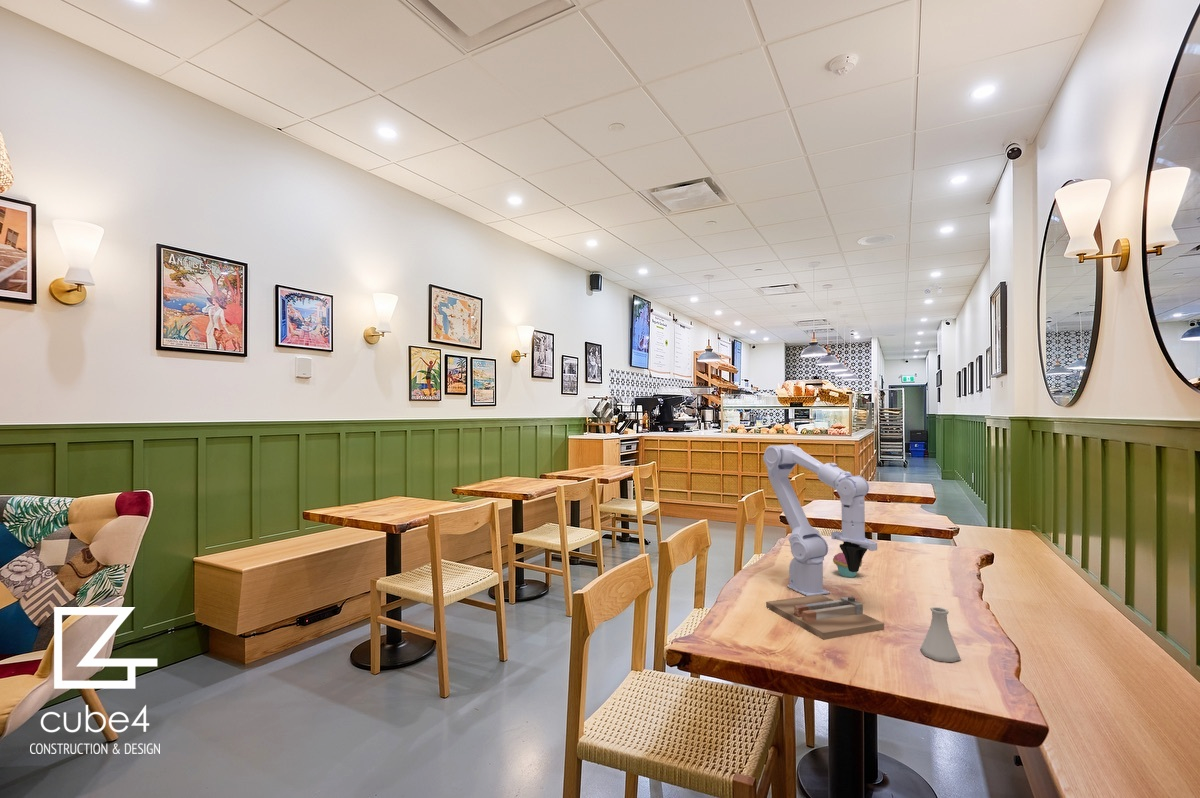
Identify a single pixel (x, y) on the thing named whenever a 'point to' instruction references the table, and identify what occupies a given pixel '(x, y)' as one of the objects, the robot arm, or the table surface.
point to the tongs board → (827, 616)
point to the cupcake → (843, 565)
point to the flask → (939, 638)
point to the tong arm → (816, 606)
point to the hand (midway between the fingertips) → (853, 571)
